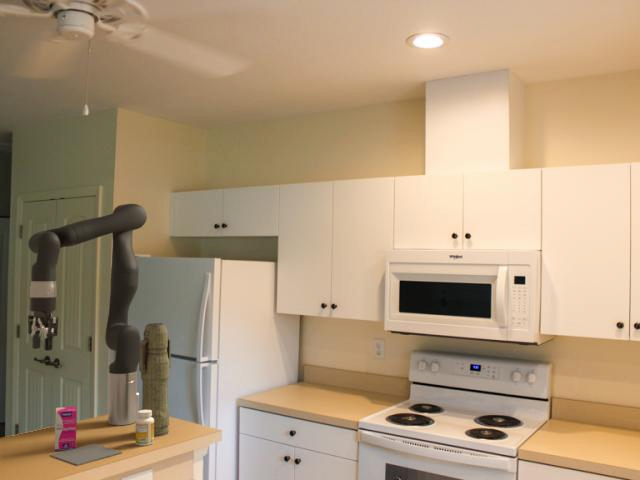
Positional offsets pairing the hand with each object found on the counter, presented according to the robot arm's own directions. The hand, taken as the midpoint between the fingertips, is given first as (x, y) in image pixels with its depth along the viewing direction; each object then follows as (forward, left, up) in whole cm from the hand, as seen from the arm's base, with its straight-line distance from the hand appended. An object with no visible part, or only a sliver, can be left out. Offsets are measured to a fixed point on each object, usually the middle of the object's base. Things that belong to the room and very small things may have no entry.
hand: (42, 349), depth 194 cm
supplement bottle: (-17, +29, -28) cm, 44 cm away
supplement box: (0, +14, -28) cm, 31 cm away
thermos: (-26, +22, -28) cm, 44 cm away
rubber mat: (0, +25, -28) cm, 37 cm away
